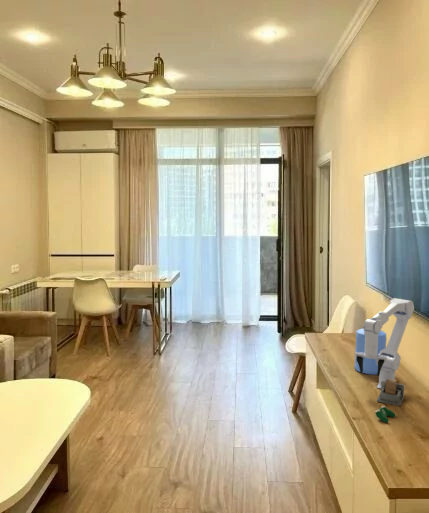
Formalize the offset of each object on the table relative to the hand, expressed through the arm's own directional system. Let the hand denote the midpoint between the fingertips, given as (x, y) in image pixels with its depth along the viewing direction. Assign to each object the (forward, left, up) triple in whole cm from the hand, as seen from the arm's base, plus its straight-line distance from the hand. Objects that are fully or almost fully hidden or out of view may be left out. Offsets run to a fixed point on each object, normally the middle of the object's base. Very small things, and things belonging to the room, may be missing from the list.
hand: (369, 373), depth 235 cm
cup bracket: (+4, +10, -9) cm, 14 cm away
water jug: (-36, -6, -10) cm, 38 cm away
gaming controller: (+26, +11, -10) cm, 30 cm away
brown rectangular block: (+4, +10, -8) cm, 14 cm away
